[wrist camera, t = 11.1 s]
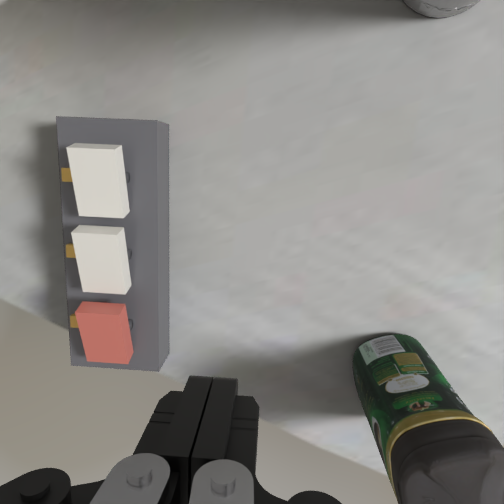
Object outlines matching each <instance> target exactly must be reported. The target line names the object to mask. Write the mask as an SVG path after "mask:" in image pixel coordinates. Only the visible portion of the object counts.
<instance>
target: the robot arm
mask: <svg viewBox="0 0 504 504" xmlns="http://www.w3.org/2000/svg"><path fill="white" fill-rule="evenodd" d="M403 1H404V2H405V3H406V4H407V6H409V7H410V8H411V9H413V10H414V11H416V12H417V13H420V14H422V15H425V16H428V17H435V18H442V17H450V16H454V15H457V14H460V13H462V12H464V11H466V10H467V9H469V8H471V7H472V6H474V5H475V4H476V3H477V2H479V1H480V0H403ZM237 394H238V379H233V378H219V377H215V378H214V379H213V377H204V376H189V378H188V381H187V383H186V386H185V388H184V391H183V392H181V391H170V392H169V393H168V394H166V395H165V396H164V397H163V398H161V399H160V400H159V402H158V404H157V406H156V408H155V410H154V414H152V416H151V419H150V421H149V423H148V425H147V427H146V429H145V431H144V433H143V435H142V437H141V439H140V441H139V443H138V445H137V447H136V449H135V451H134V453H133V455H131V456H129V457H126V458H124V459H123V460H121V461H120V462H118V463H117V464H116V465H115V466H114V467H113V468H112V470H111V471H110V473H109V474H108V476H107V477H106V479H104V480H101V481H98V482H93V483H87V484H82V485H77V486H71V483H70V478H69V476H68V475H67V473H65V472H64V471H62V470H60V469H55V468H43V469H38V470H34V471H31V472H28V473H26V474H24V475H22V476H20V477H18V478H16V479H14V480H12V481H10V482H8V483H6V484H4V485H2V486H0V504H341V503H340V502H339V501H338V500H337V499H335V498H334V497H332V496H330V495H328V494H326V493H322V492H319V491H304V492H300V493H298V494H296V495H294V496H293V497H291V499H289V500H288V501H285V500H283V499H280V498H278V497H276V496H273V495H272V494H270V493H268V492H267V491H266V490H264V489H263V487H262V486H261V485H260V484H259V482H258V480H257V478H256V475H255V470H256V455H257V437H258V419H259V406H258V404H257V403H256V401H255V399H254V397H251V396H238V395H237Z"/></svg>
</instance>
